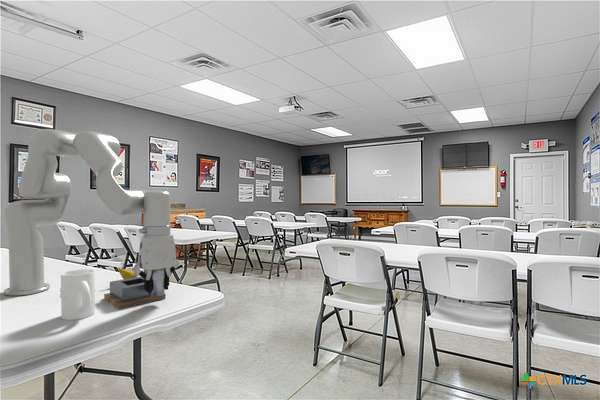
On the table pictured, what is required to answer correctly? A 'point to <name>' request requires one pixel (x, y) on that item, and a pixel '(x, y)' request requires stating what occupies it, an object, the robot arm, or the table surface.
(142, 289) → the socket block
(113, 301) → the dock board
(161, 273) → the steel peg
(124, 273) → the drill bit
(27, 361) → the table surface
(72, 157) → the robot arm
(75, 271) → the mug
